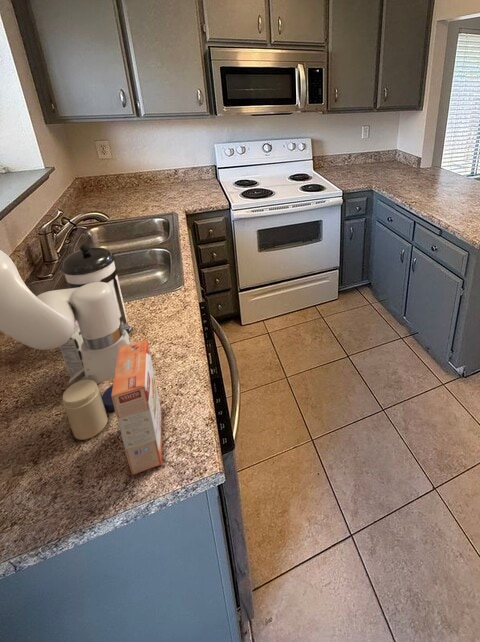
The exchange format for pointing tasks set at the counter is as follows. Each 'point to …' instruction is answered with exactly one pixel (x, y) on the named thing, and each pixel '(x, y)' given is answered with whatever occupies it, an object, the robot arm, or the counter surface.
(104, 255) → the coffee press
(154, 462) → the cracker box
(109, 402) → the jar lid
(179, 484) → the counter surface
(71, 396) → the jar
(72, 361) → the candy bar box
